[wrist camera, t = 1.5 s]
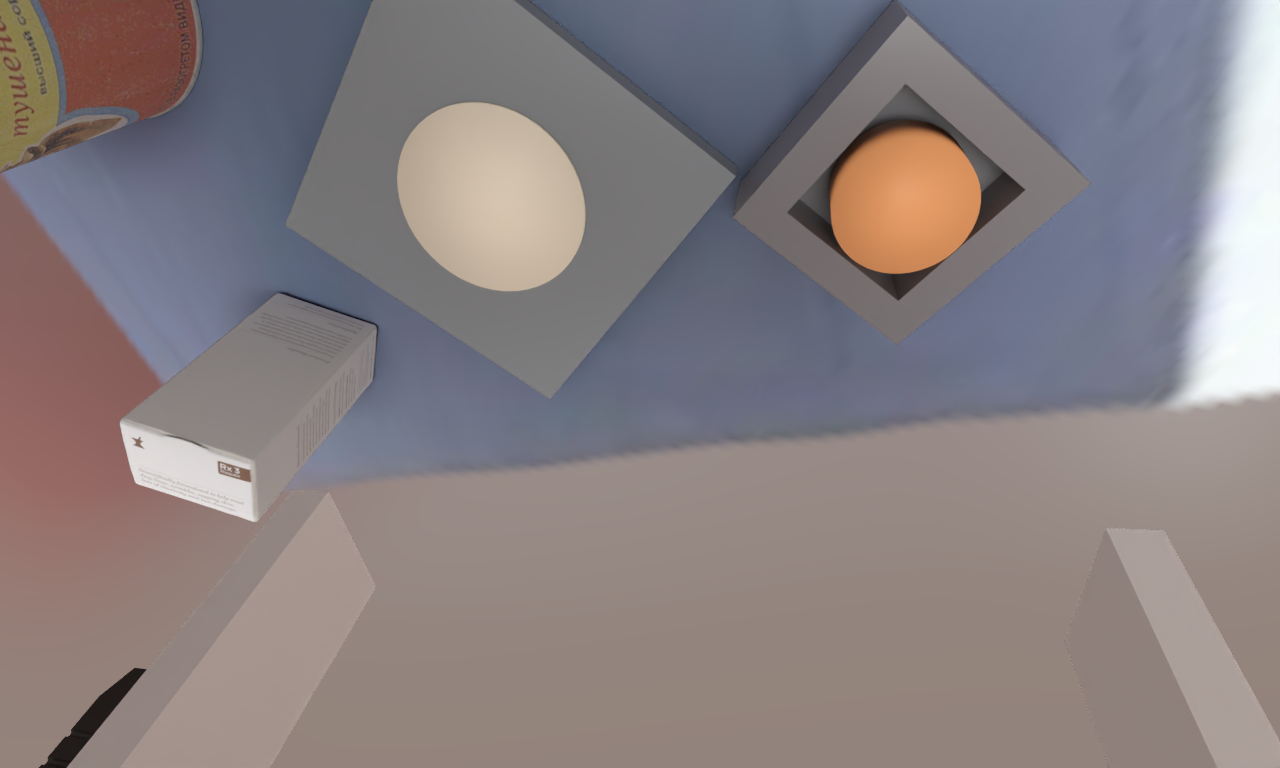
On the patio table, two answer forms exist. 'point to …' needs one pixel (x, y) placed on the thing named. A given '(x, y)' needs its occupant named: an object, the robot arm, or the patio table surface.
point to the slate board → (501, 180)
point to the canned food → (90, 69)
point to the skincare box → (251, 407)
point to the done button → (903, 197)
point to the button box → (890, 91)
